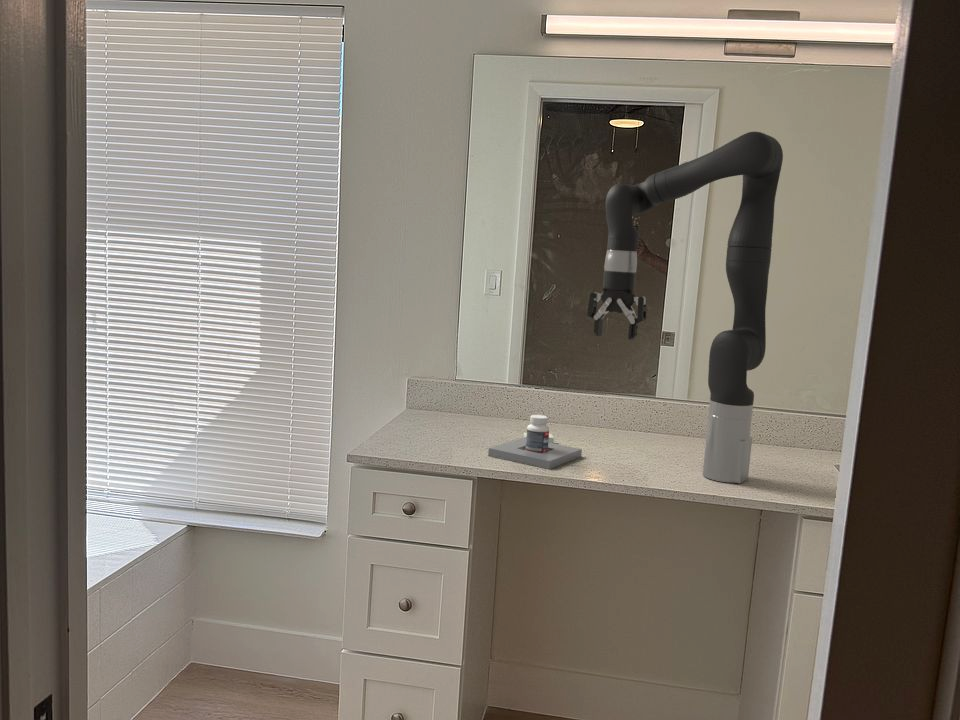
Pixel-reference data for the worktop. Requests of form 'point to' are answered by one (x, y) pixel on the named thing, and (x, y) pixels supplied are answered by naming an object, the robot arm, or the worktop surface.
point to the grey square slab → (535, 454)
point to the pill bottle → (537, 434)
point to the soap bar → (551, 438)
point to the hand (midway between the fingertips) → (614, 337)
